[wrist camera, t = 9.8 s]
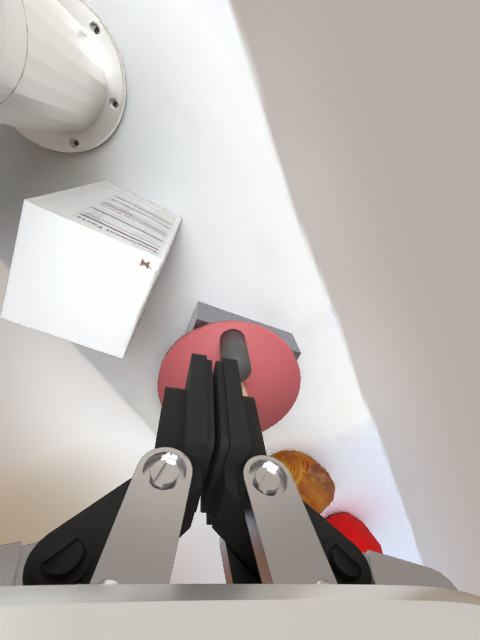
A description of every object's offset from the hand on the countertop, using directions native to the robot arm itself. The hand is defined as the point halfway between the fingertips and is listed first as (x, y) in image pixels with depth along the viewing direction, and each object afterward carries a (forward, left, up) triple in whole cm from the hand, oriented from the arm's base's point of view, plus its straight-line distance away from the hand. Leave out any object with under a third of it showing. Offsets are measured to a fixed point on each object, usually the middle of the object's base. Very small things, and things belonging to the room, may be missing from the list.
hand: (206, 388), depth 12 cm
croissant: (+29, -36, -29) cm, 55 cm away
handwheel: (+9, -16, -24) cm, 30 cm away
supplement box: (-8, -4, -29) cm, 30 cm away
